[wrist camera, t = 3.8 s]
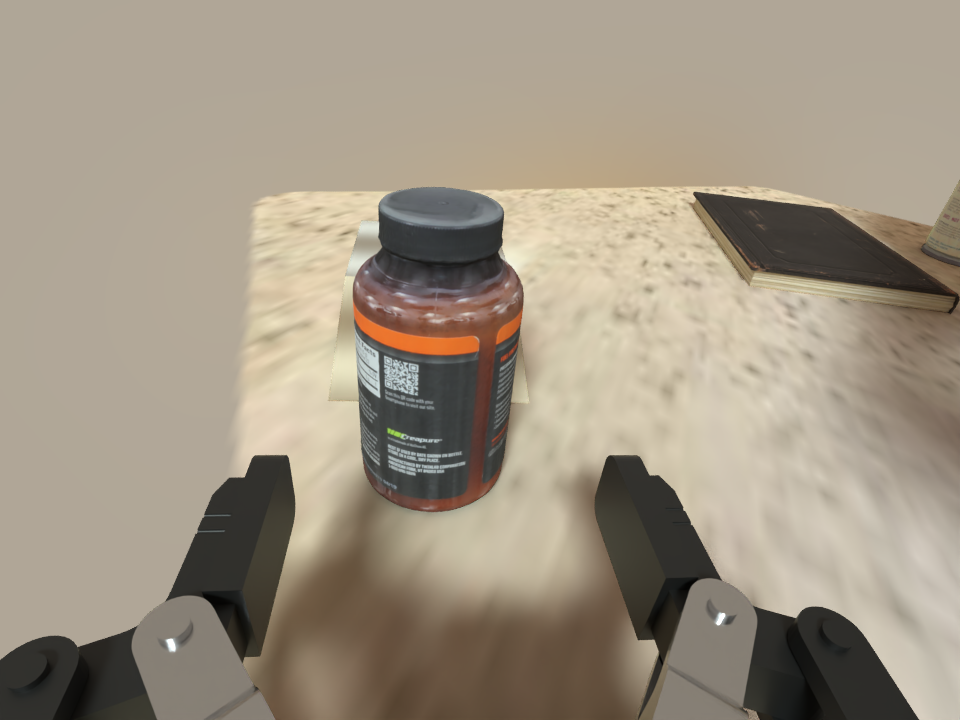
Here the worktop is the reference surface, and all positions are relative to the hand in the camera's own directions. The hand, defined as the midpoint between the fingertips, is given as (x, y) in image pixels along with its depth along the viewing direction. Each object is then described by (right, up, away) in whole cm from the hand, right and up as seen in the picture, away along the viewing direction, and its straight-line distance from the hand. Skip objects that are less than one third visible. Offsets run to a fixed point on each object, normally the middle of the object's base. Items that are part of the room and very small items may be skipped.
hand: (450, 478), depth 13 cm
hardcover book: (+32, +13, +39) cm, 52 cm away
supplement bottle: (-1, -2, +9) cm, 10 cm away
